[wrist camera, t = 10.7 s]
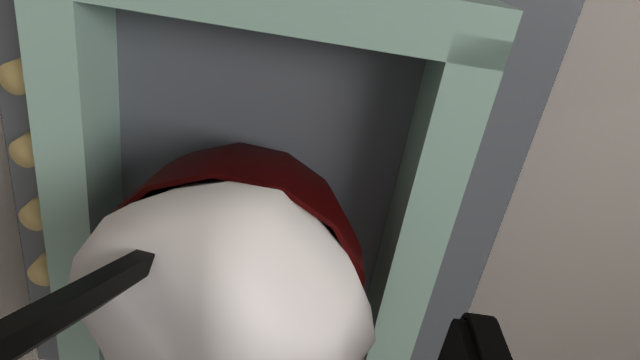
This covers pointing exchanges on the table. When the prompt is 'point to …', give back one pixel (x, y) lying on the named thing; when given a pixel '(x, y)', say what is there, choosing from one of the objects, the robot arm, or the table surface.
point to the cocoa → (214, 269)
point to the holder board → (286, 126)
